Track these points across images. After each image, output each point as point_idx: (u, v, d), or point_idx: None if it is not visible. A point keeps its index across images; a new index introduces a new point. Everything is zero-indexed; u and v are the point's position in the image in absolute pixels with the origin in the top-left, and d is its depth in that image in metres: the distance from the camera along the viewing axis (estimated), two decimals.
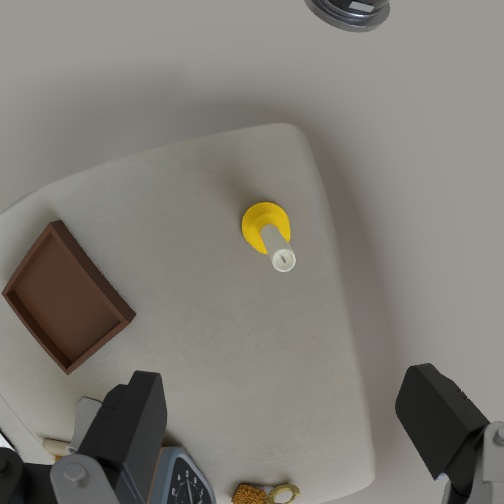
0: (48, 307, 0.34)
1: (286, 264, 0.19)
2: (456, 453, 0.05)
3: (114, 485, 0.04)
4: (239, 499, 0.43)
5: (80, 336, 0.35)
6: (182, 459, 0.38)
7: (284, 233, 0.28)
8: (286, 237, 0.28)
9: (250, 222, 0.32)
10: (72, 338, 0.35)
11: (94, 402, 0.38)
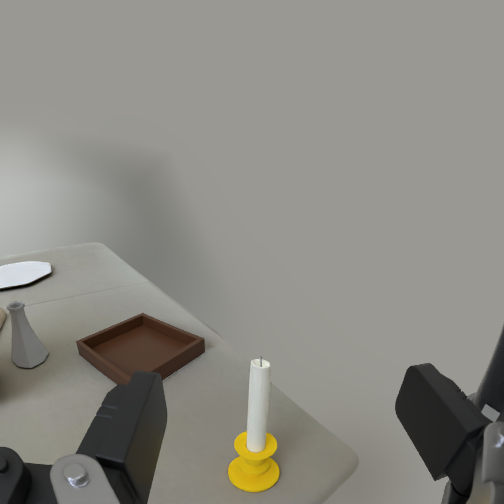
0: (133, 343, 0.47)
1: None
2: (456, 453, 0.05)
3: (114, 485, 0.04)
4: None
5: (109, 359, 0.41)
6: None
7: (261, 455, 0.22)
8: (258, 457, 0.21)
9: None
10: (107, 354, 0.43)
11: (43, 357, 0.38)
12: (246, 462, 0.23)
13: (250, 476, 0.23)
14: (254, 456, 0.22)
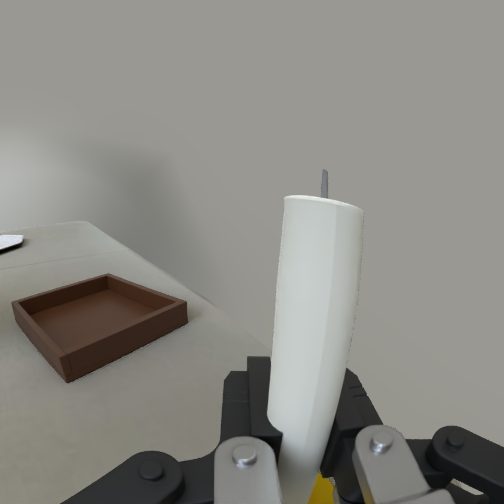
0: (87, 309, 0.32)
1: (315, 214, 0.05)
2: (334, 451, 0.06)
3: None
4: None
5: (49, 328, 0.26)
6: None
7: None
8: None
9: None
10: (48, 322, 0.27)
11: None
12: None
13: None
14: None
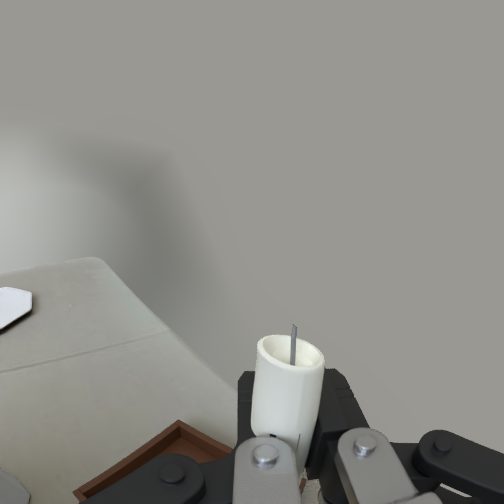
0: None
1: (275, 360, 0.06)
2: (318, 453, 0.06)
3: None
4: None
5: None
6: None
7: None
8: None
9: None
10: None
11: None
12: None
13: None
14: None
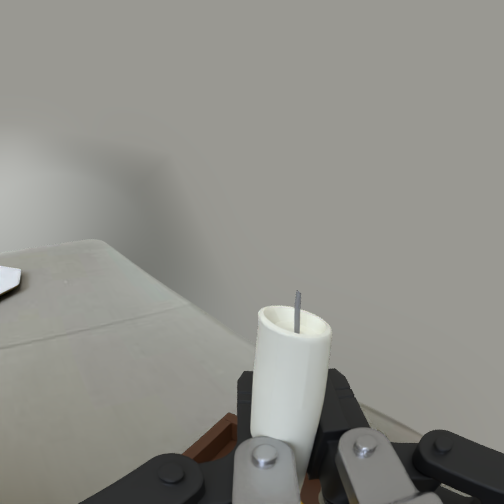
0: None
1: None
2: (319, 453, 0.06)
3: None
4: None
5: None
6: None
7: None
8: None
9: None
10: None
11: None
12: None
13: None
14: None
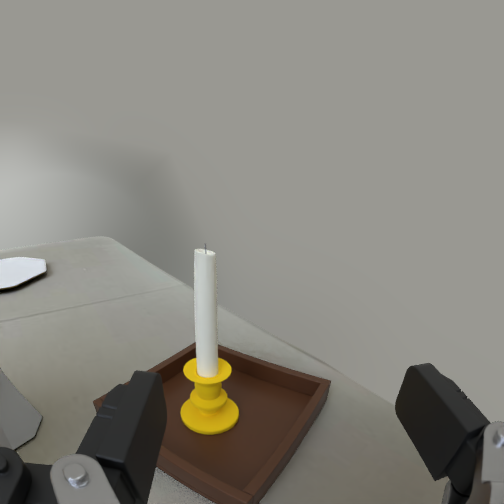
0: None
1: None
2: (456, 453, 0.05)
3: (114, 485, 0.04)
4: None
5: (164, 436, 0.20)
6: None
7: (201, 379, 0.21)
8: (195, 379, 0.21)
9: None
10: None
11: (33, 428, 0.17)
12: None
13: (200, 413, 0.23)
14: (193, 377, 0.21)
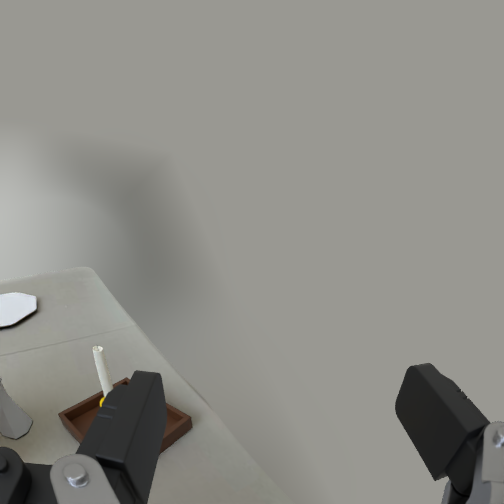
0: None
1: (95, 349, 0.34)
2: (456, 453, 0.05)
3: (114, 485, 0.04)
4: None
5: None
6: None
7: None
8: None
9: None
10: None
11: (27, 427, 0.31)
12: None
13: None
14: None
